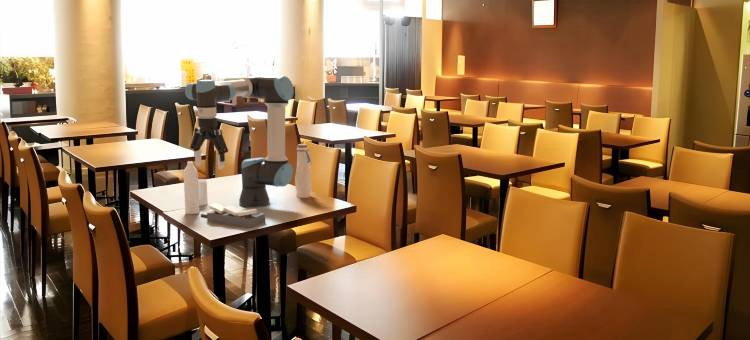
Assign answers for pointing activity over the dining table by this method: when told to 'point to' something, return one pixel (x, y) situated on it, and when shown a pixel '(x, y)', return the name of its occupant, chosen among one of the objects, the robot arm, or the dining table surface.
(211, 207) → the rocker
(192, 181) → the water bottle
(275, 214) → the dining table surface
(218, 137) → the robot arm
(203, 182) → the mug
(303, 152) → the water bottle
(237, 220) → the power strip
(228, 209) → the rocker
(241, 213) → the rocker
